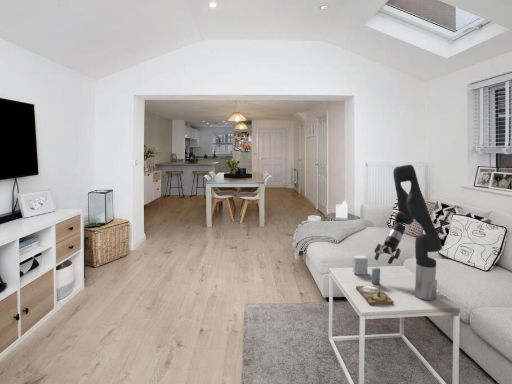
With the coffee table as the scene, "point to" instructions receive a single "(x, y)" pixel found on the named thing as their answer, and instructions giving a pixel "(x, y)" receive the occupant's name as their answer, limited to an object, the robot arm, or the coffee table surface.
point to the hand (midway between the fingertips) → (382, 261)
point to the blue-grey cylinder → (375, 276)
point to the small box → (360, 264)
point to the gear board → (374, 295)
